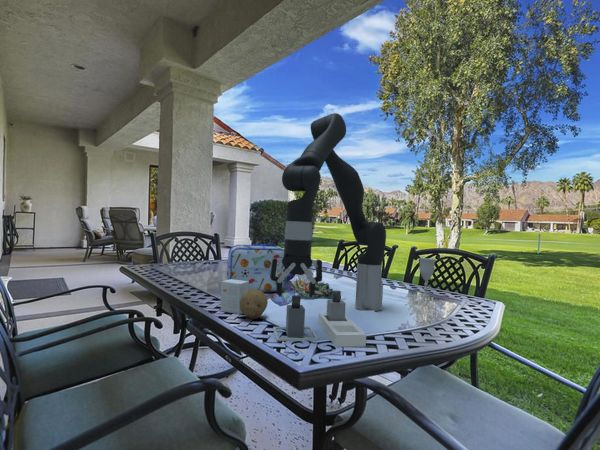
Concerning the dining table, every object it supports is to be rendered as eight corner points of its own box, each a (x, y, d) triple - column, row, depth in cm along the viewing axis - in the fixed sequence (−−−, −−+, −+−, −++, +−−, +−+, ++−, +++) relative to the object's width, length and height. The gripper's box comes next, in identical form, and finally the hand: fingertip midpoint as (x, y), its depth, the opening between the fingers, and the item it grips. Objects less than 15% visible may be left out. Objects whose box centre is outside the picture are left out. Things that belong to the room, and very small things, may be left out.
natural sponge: (262, 325, 105) (263, 293, 105) (234, 322, 107) (235, 290, 107) (269, 317, 114) (271, 287, 114) (244, 315, 116) (245, 285, 116)
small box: (248, 311, 121) (249, 281, 121) (239, 314, 116) (240, 283, 116) (229, 307, 125) (230, 278, 125) (220, 311, 120) (221, 280, 120)
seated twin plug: (340, 325, 105) (341, 289, 105) (344, 330, 101) (346, 292, 101) (326, 325, 105) (327, 289, 105) (329, 330, 100) (331, 292, 100)
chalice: (435, 299, 154) (437, 259, 154) (432, 302, 148) (434, 260, 148) (418, 296, 158) (420, 257, 158) (414, 299, 152) (416, 258, 152)
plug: (301, 332, 98) (302, 294, 98) (303, 338, 94) (305, 298, 94) (285, 333, 98) (287, 294, 97) (287, 338, 93) (289, 297, 93)
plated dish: (274, 286, 171) (274, 271, 171) (327, 286, 179) (328, 272, 179) (291, 304, 138) (292, 286, 137) (356, 304, 145) (357, 286, 145)
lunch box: (284, 288, 164) (286, 242, 163) (290, 293, 154) (292, 244, 153) (225, 289, 156) (227, 240, 155) (227, 294, 146) (229, 242, 145)
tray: (310, 331, 102) (310, 326, 102) (317, 343, 92) (317, 338, 92) (273, 332, 100) (273, 326, 100) (276, 344, 90) (276, 338, 90)
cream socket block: (318, 326, 107) (318, 311, 107) (343, 326, 108) (343, 311, 108) (335, 350, 87) (336, 332, 87) (365, 350, 89) (366, 332, 89)
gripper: (320, 238, 100) (317, 293, 101) (271, 236, 98) (268, 293, 98) (326, 240, 93) (323, 299, 93) (273, 237, 91) (270, 299, 91)
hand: (295, 296), depth 96 cm, fingers open, 8 cm apart
